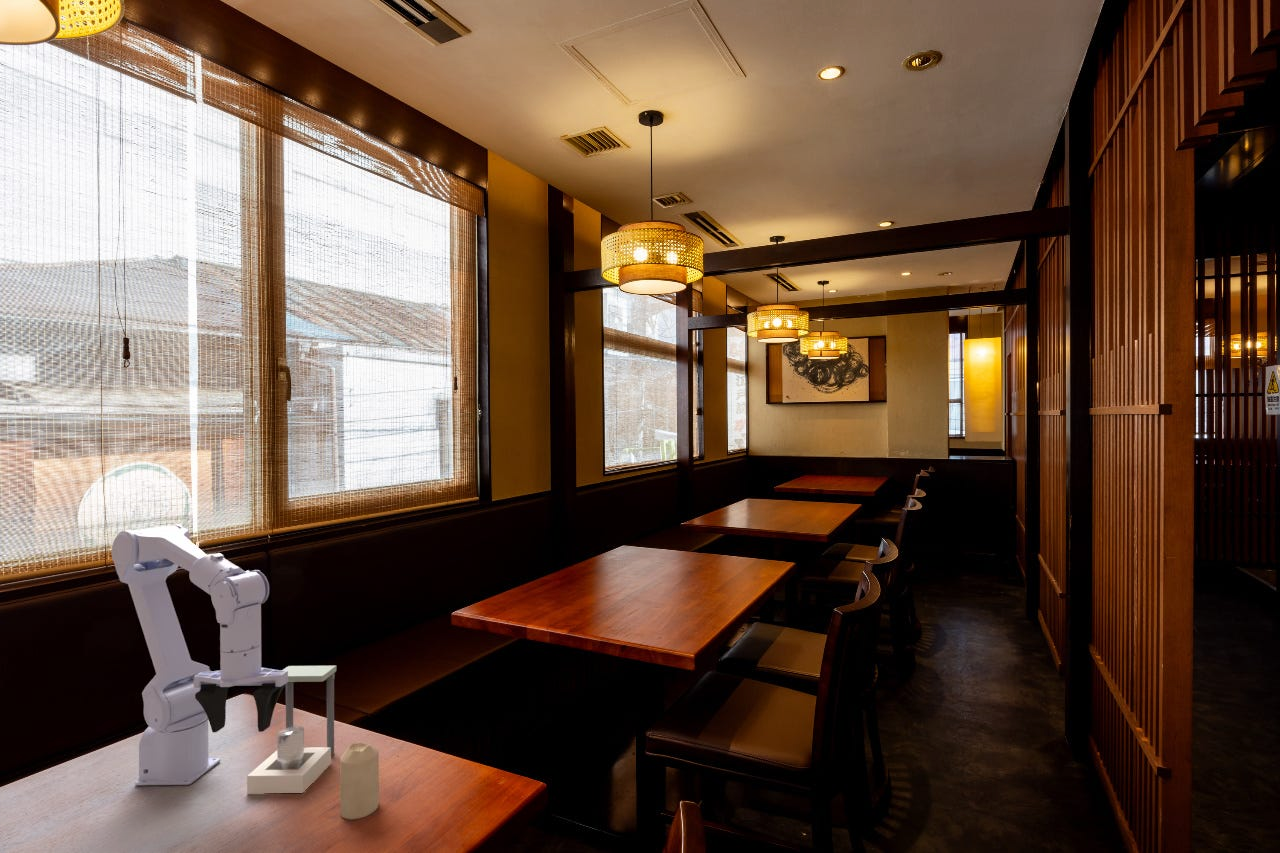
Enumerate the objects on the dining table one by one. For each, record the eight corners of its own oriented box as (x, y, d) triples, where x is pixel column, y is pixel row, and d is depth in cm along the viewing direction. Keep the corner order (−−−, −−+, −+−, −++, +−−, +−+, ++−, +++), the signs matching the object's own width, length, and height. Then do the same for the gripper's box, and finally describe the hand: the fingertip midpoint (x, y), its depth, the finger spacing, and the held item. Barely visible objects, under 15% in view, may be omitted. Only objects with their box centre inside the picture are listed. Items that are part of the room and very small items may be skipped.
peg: (284, 772, 109) (284, 726, 109) (308, 771, 109) (308, 725, 109) (272, 785, 105) (272, 737, 105) (297, 784, 105) (297, 737, 105)
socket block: (247, 794, 102) (247, 775, 102) (279, 764, 111) (279, 747, 111) (302, 793, 102) (302, 775, 102) (330, 764, 111) (330, 747, 111)
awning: (272, 766, 111) (272, 676, 111) (288, 752, 116) (288, 666, 116) (323, 765, 111) (322, 675, 111) (336, 751, 116) (336, 665, 116)
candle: (385, 799, 100) (385, 737, 100) (367, 821, 95) (366, 755, 95) (353, 798, 101) (352, 736, 101) (333, 819, 95) (332, 753, 95)
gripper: (179, 656, 99) (179, 741, 99) (270, 654, 99) (270, 740, 99) (210, 641, 106) (210, 721, 106) (294, 640, 106) (295, 720, 106)
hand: (241, 729), depth 103 cm, fingers open, 7 cm apart
